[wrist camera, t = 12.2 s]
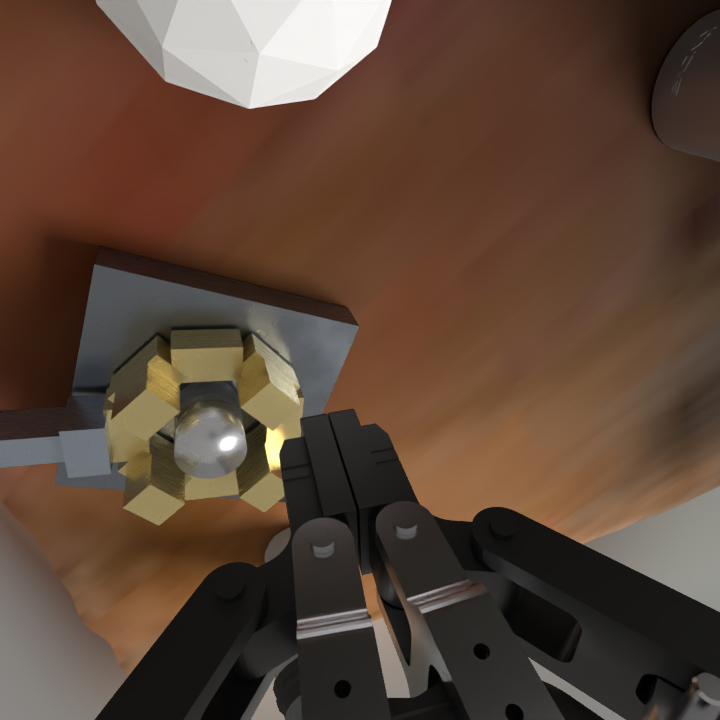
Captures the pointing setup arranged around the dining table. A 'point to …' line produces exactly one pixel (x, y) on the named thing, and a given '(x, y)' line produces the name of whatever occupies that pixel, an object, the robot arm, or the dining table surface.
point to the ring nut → (156, 408)
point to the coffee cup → (289, 670)
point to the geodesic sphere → (251, 43)
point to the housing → (202, 312)
